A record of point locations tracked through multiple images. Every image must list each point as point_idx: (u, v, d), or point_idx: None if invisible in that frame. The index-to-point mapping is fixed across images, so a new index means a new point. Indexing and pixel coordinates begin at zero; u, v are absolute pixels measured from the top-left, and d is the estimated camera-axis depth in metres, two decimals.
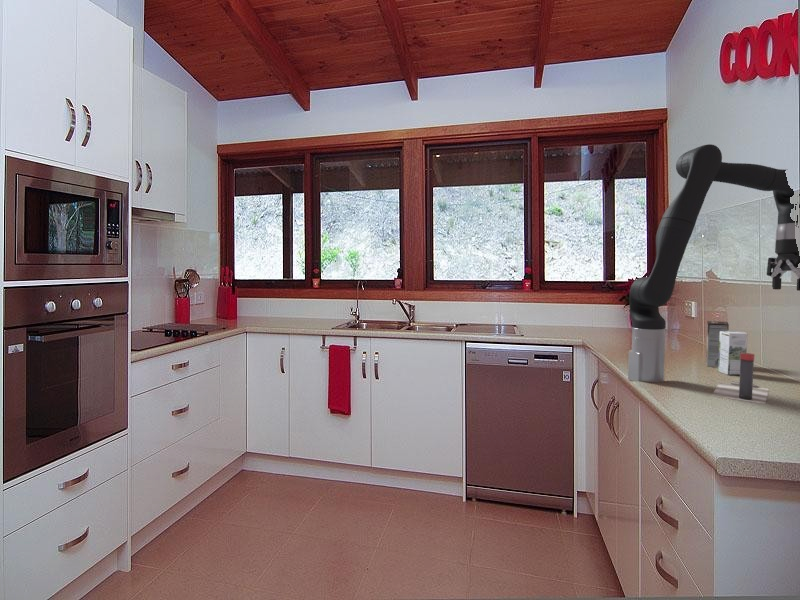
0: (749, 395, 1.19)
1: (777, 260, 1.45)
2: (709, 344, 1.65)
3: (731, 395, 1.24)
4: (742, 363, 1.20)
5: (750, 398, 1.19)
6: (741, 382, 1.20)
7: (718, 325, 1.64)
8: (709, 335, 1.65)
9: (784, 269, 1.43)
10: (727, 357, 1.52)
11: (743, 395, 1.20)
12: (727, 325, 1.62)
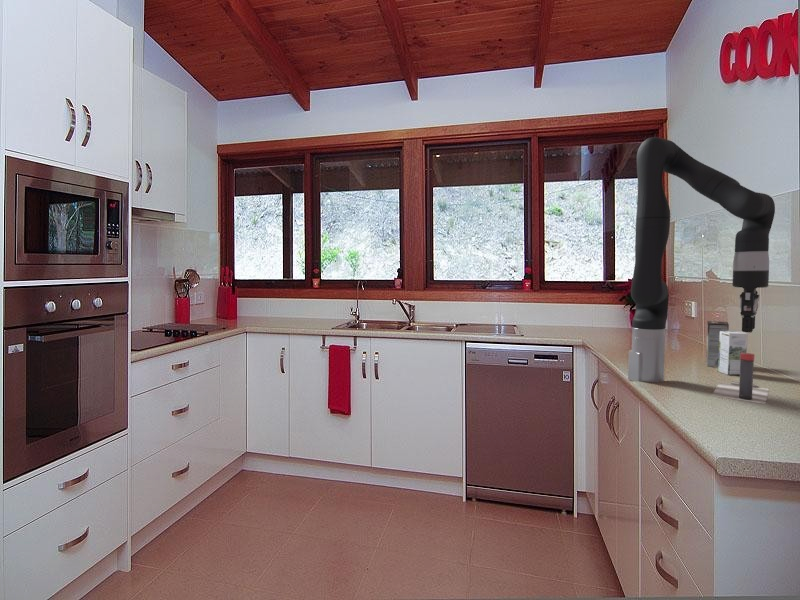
0: (749, 395, 1.19)
1: None
2: (709, 344, 1.65)
3: (731, 395, 1.24)
4: (742, 363, 1.20)
5: (750, 398, 1.19)
6: (741, 382, 1.20)
7: (718, 325, 1.64)
8: (709, 335, 1.65)
9: None
10: (727, 357, 1.52)
11: (743, 395, 1.20)
12: (727, 325, 1.62)
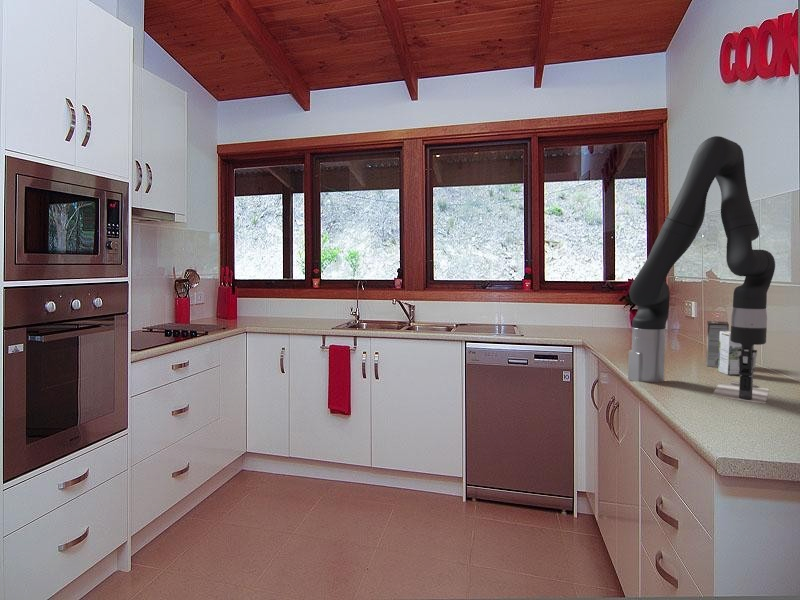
0: (749, 395, 1.19)
1: (751, 353, 1.17)
2: (709, 344, 1.65)
3: (731, 395, 1.24)
4: None
5: (750, 398, 1.19)
6: None
7: (718, 325, 1.64)
8: (709, 335, 1.65)
9: None
10: (727, 357, 1.52)
11: (743, 395, 1.20)
12: (727, 325, 1.62)
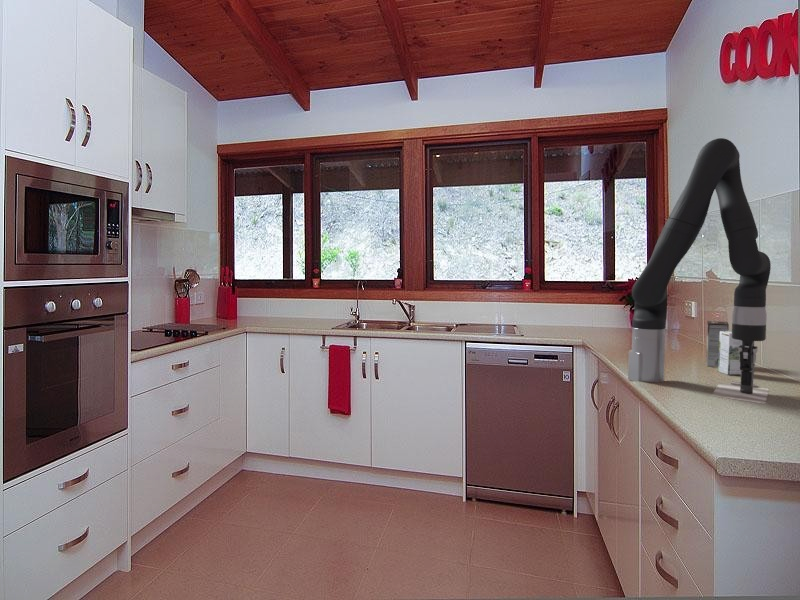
0: (750, 389, 1.25)
1: (751, 349, 1.23)
2: (709, 344, 1.65)
3: (731, 395, 1.24)
4: None
5: (751, 392, 1.25)
6: None
7: (718, 325, 1.64)
8: (709, 335, 1.65)
9: None
10: (727, 357, 1.52)
11: (744, 389, 1.26)
12: (727, 325, 1.62)
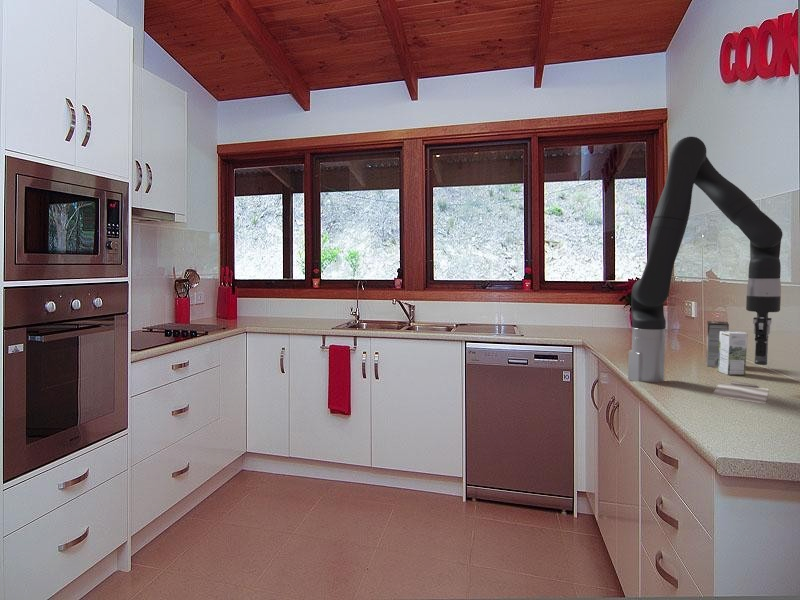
0: (764, 360, 1.27)
1: (766, 320, 1.25)
2: (709, 344, 1.65)
3: (731, 395, 1.24)
4: None
5: (765, 363, 1.27)
6: None
7: (718, 325, 1.64)
8: (709, 335, 1.65)
9: None
10: (727, 357, 1.52)
11: (759, 360, 1.28)
12: (727, 325, 1.62)
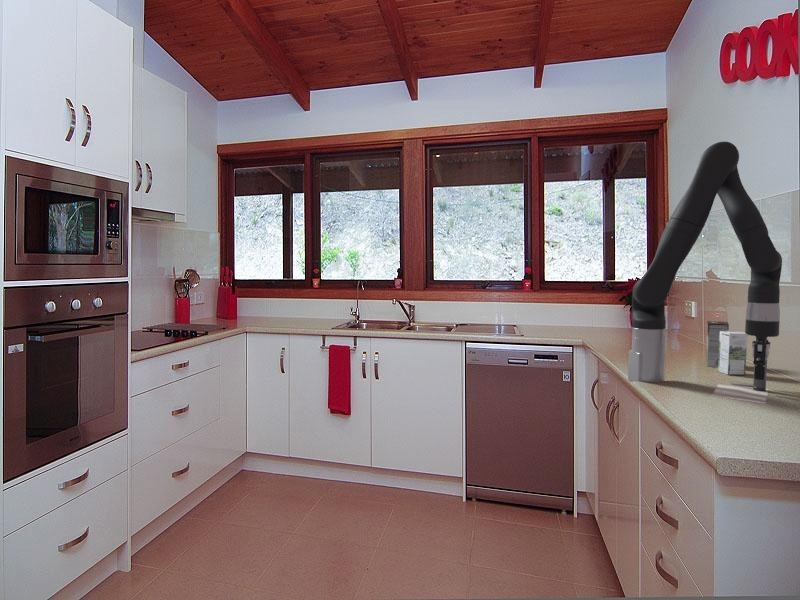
0: (763, 387, 1.28)
1: (765, 344, 1.25)
2: (709, 344, 1.65)
3: (731, 395, 1.24)
4: None
5: (764, 390, 1.28)
6: None
7: (718, 325, 1.64)
8: (709, 335, 1.65)
9: None
10: (727, 357, 1.52)
11: (757, 387, 1.28)
12: (727, 325, 1.62)
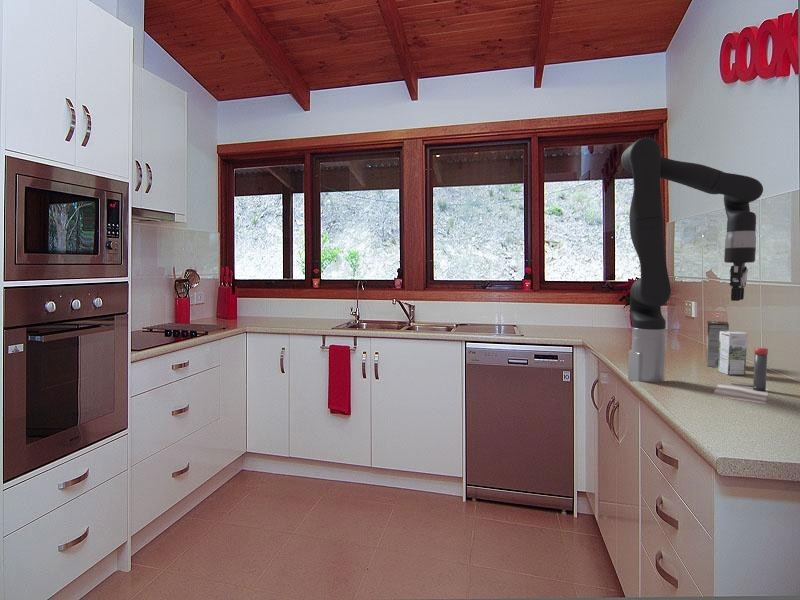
0: (763, 387, 1.28)
1: (741, 269, 1.34)
2: (709, 344, 1.65)
3: (731, 395, 1.24)
4: (756, 357, 1.28)
5: (764, 390, 1.28)
6: (756, 374, 1.28)
7: (718, 325, 1.64)
8: (709, 335, 1.65)
9: None
10: (727, 357, 1.52)
11: (757, 387, 1.28)
12: (727, 325, 1.62)
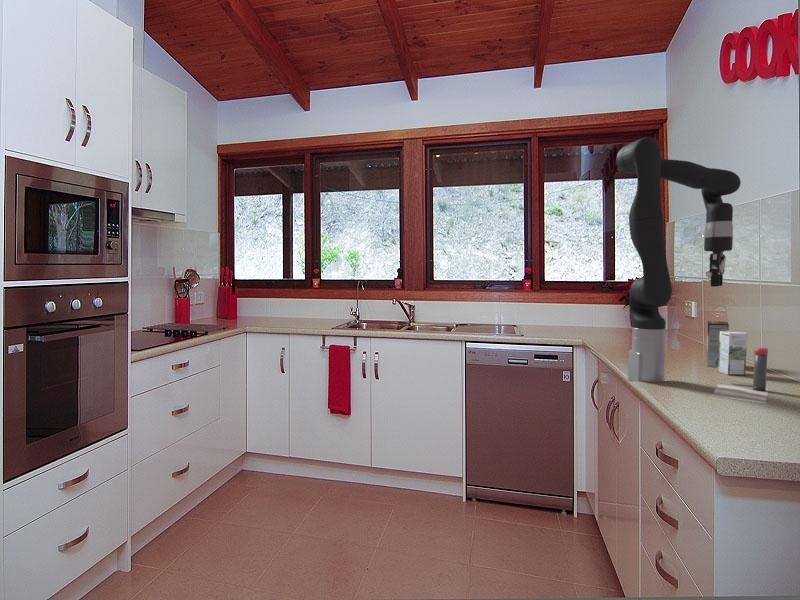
0: (763, 387, 1.28)
1: (720, 257, 1.43)
2: (709, 344, 1.65)
3: (731, 395, 1.24)
4: (756, 357, 1.28)
5: (764, 390, 1.28)
6: (756, 374, 1.28)
7: (718, 325, 1.64)
8: (709, 335, 1.65)
9: None
10: (727, 357, 1.52)
11: (757, 387, 1.28)
12: (727, 325, 1.62)
